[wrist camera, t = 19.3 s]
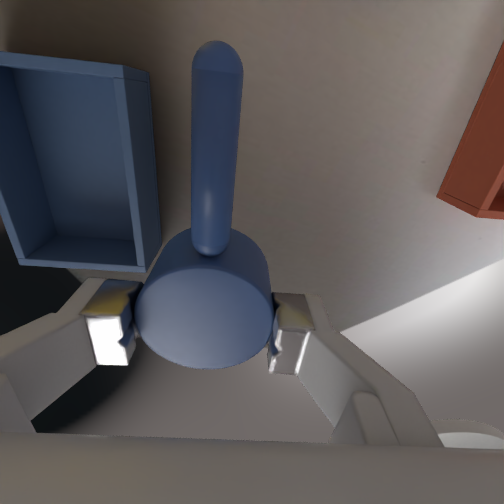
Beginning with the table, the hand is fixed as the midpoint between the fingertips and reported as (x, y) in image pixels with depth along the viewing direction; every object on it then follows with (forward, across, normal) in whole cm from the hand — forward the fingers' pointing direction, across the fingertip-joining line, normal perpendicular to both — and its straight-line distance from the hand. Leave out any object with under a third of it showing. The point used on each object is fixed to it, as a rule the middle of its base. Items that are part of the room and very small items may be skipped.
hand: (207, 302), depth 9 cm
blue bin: (+15, +10, 0) cm, 19 cm away
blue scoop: (+2, 0, -2) cm, 3 cm away
